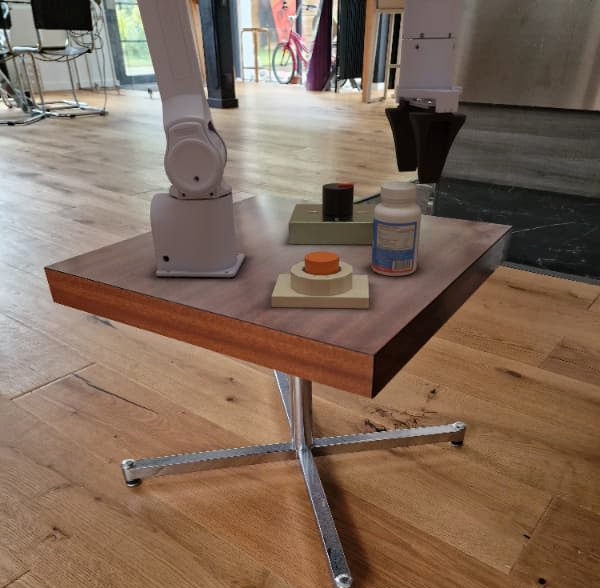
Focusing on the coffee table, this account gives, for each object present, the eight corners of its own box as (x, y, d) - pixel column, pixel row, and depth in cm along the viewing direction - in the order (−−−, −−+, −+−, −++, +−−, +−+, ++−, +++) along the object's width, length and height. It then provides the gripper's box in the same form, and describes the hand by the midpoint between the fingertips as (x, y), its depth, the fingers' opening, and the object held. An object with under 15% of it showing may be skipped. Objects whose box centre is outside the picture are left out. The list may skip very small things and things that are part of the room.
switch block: (271, 307, 59) (270, 279, 57) (279, 283, 65) (278, 258, 63) (368, 308, 58) (370, 280, 57) (367, 285, 64) (368, 258, 63)
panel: (289, 244, 79) (288, 220, 77) (296, 223, 88) (295, 202, 86) (383, 244, 78) (385, 221, 76) (380, 224, 87) (381, 203, 85)
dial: (321, 215, 80) (321, 186, 78) (323, 208, 83) (323, 180, 81) (353, 216, 79) (353, 186, 77) (353, 208, 83) (354, 180, 81)
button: (303, 277, 59) (303, 261, 58) (306, 266, 62) (305, 251, 61) (338, 278, 59) (338, 261, 58) (339, 267, 62) (339, 251, 61)
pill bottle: (382, 260, 72) (387, 178, 67) (422, 266, 69) (431, 182, 64) (363, 272, 68) (367, 187, 63) (405, 280, 65) (413, 191, 60)
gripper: (496, 36, 54) (475, 187, 61) (440, 40, 66) (428, 165, 73) (424, 37, 53) (412, 190, 60) (381, 41, 65) (375, 167, 72)
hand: (417, 177), depth 67 cm, fingers open, 7 cm apart
